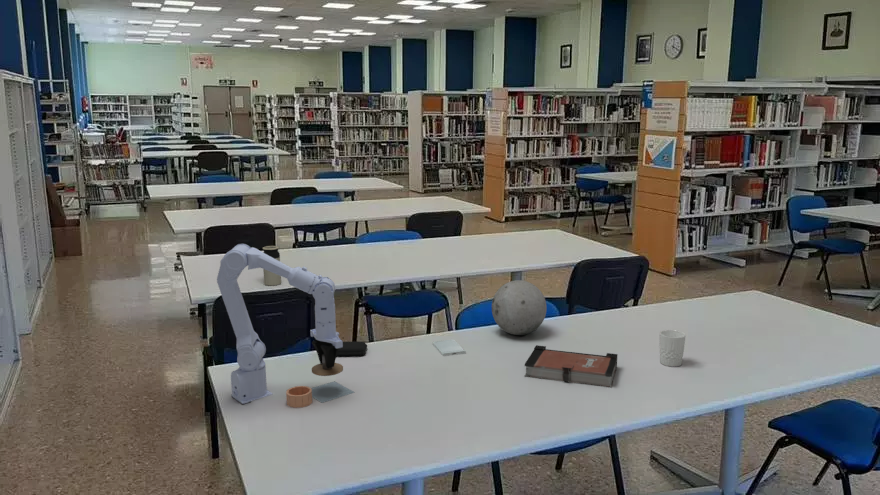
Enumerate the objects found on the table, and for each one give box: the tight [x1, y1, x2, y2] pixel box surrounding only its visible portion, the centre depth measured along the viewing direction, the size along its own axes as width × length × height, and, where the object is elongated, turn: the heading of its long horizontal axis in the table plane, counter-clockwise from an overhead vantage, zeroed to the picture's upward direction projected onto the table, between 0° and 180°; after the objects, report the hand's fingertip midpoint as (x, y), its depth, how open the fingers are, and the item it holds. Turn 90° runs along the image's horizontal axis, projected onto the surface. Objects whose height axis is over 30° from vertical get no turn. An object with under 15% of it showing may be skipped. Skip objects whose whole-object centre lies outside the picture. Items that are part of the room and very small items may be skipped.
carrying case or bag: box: [336, 341, 368, 358], centre depth 232 cm, size 11×3×15 cm
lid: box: [311, 354, 344, 377], centre depth 196 cm, size 9×9×5 cm
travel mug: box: [262, 245, 282, 287], centre depth 323 cm, size 8×8×18 cm
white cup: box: [659, 329, 687, 368], centre depth 218 cm, size 8×8×10 cm
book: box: [523, 345, 618, 388], centre depth 211 cm, size 26×18×5 cm
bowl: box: [285, 385, 313, 409], centre depth 190 cm, size 7×7×4 cm
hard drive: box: [431, 338, 467, 357], centre depth 234 cm, size 2×8×12 cm
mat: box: [310, 380, 355, 404], centre depth 198 cm, size 11×11×1 cm
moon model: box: [491, 279, 547, 336], centre depth 247 cm, size 20×20×20 cm
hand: (327, 365), depth 196 cm, fingers closed on lid, 3 cm apart
